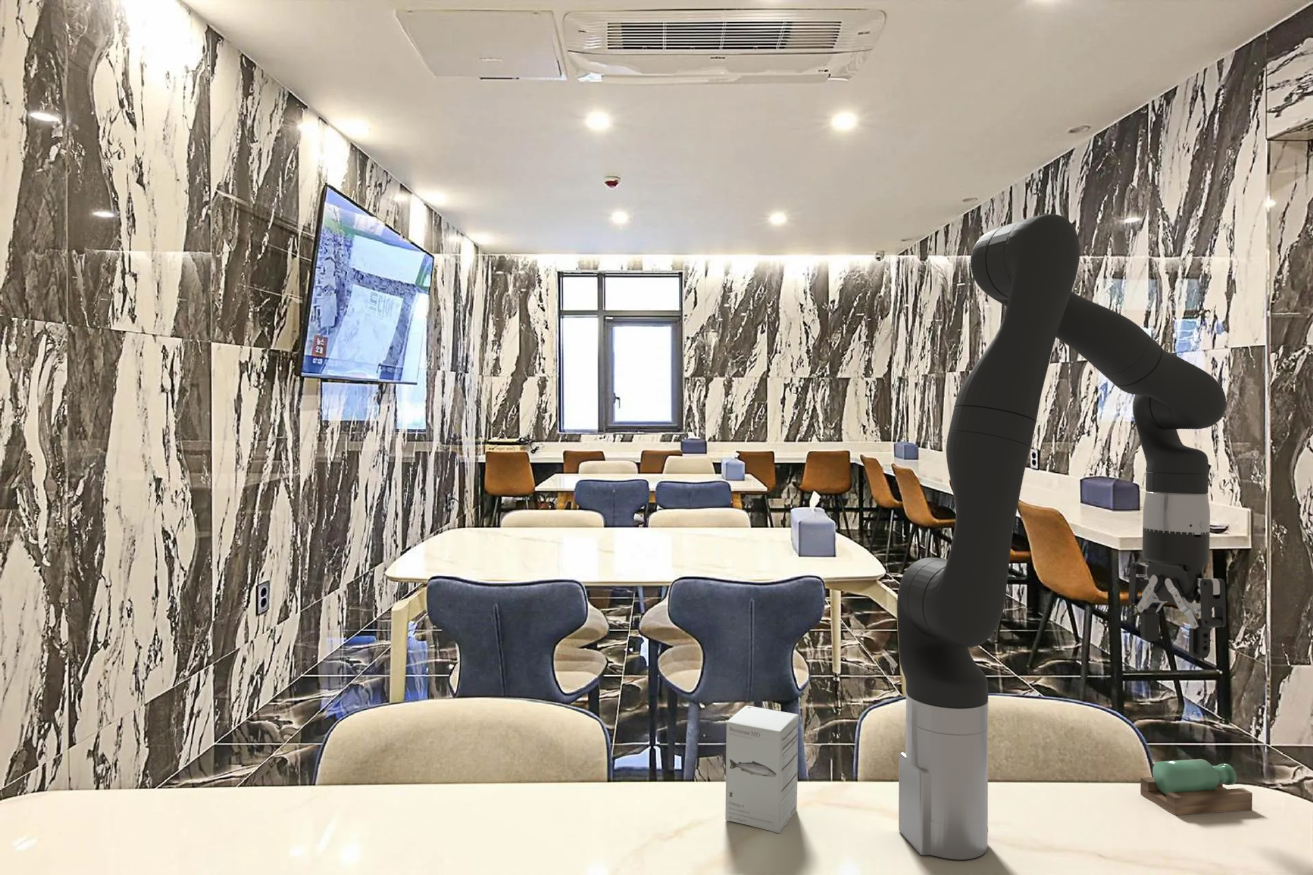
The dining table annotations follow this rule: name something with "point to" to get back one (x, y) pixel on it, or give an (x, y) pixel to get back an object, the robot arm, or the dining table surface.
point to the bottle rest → (1198, 799)
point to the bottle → (1191, 775)
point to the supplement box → (761, 767)
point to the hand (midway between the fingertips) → (1173, 648)
